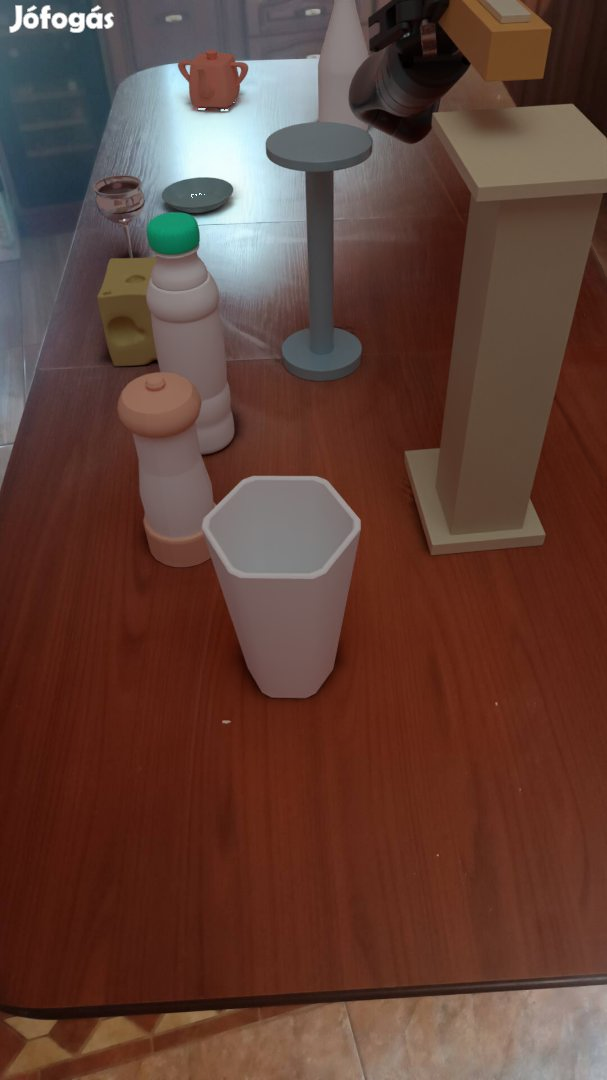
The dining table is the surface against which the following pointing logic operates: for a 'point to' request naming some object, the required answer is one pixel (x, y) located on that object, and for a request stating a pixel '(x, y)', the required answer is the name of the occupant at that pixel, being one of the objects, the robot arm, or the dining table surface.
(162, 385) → the salt shaker
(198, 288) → the water bottle
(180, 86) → the dining table surface
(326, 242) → the cake stand
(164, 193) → the saucer
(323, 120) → the wine bottle
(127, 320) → the cheese
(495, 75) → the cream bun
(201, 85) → the brown sugar bowl
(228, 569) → the cup
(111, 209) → the wineglass
